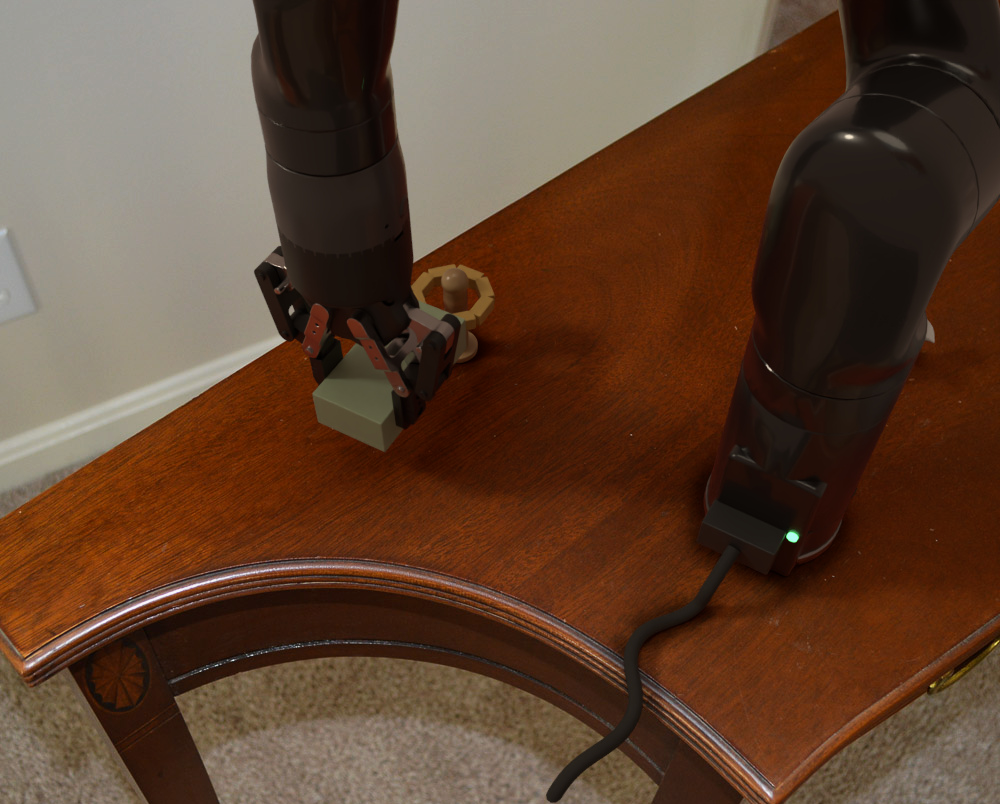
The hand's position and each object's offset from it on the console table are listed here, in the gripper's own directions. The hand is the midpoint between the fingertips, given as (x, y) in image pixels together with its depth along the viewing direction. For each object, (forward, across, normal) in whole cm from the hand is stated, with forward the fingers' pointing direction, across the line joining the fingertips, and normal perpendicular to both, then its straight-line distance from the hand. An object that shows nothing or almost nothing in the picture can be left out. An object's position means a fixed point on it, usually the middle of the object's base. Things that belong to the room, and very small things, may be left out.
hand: (370, 402), depth 75 cm
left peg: (+6, 0, +12) cm, 13 cm away
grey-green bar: (+1, 0, +6) cm, 6 cm away
